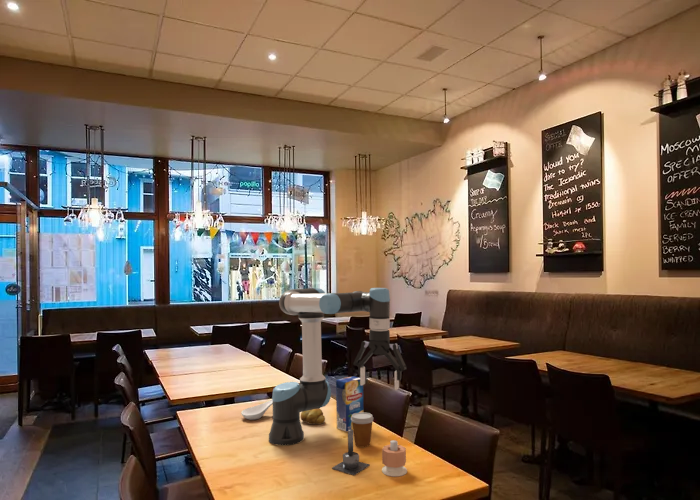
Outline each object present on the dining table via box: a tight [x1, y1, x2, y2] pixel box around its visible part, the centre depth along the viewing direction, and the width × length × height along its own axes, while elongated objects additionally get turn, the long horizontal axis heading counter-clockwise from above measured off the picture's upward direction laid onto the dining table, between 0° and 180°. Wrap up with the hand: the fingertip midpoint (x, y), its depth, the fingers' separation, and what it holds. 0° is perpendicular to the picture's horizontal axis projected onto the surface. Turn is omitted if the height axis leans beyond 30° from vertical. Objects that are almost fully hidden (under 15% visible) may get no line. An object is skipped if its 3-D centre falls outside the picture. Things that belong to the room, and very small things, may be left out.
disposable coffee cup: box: [351, 412, 375, 448], centre depth 195 cm, size 10×10×12 cm
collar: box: [381, 444, 407, 468], centre depth 169 cm, size 8×8×5 cm
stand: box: [331, 429, 371, 476], centre depth 173 cm, size 10×10×14 cm
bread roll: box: [300, 408, 326, 425], centre depth 225 cm, size 13×10×8 cm
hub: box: [381, 439, 408, 478], centre depth 169 cm, size 9×9×10 cm
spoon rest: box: [240, 399, 273, 421], centre depth 236 cm, size 24×12×7 cm, turn 122°
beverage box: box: [335, 375, 365, 433], centre depth 217 cm, size 7×11×22 cm, turn 133°
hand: (379, 386), depth 174 cm, fingers open, 13 cm apart
